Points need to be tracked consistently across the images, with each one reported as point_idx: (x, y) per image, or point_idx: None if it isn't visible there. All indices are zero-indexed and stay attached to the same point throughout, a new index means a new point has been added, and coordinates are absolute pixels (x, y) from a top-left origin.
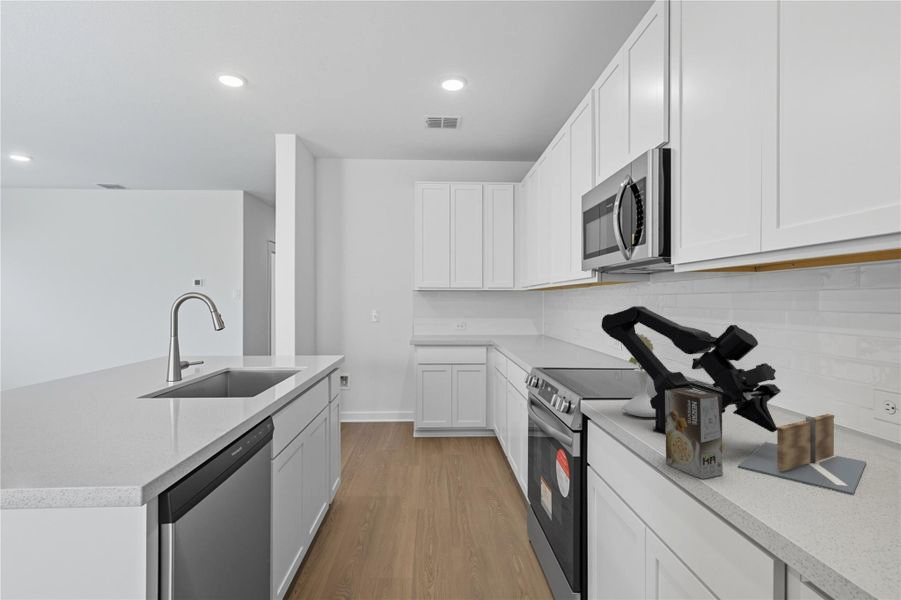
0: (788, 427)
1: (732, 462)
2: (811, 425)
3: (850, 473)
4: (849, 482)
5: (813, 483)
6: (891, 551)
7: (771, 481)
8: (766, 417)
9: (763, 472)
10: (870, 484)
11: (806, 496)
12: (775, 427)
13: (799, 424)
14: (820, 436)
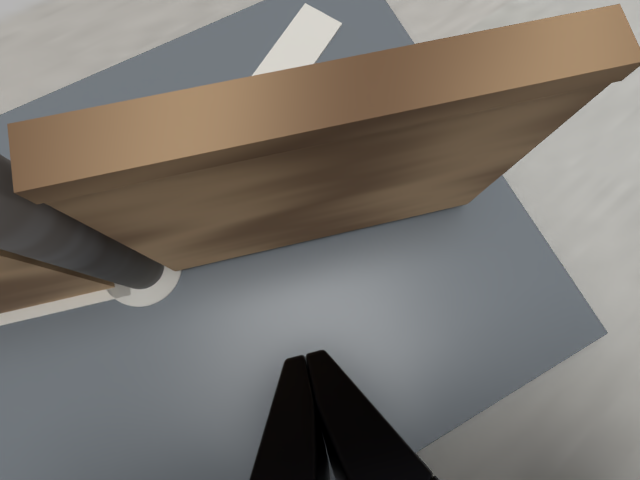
0: (522, 23)
1: (570, 412)
2: (8, 161)
3: (118, 98)
4: (253, 28)
5: None
6: None
7: (569, 147)
8: (380, 461)
9: (534, 226)
10: (157, 17)
11: (552, 5)
12: (305, 364)
13: (280, 73)
14: None
